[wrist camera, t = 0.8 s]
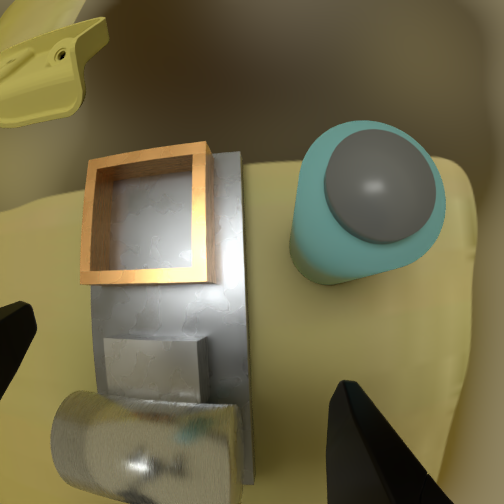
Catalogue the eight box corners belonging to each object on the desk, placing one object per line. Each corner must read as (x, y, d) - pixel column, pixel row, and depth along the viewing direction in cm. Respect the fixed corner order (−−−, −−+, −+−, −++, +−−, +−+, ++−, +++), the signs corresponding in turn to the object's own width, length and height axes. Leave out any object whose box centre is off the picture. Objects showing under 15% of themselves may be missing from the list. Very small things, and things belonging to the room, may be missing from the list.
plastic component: (112, 13, 24) (66, 45, 19) (123, 69, 30) (87, 114, 25) (-10, 55, 24) (-56, 96, 19) (6, 97, 31) (-34, 142, 25)
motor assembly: (255, 474, 19) (242, 547, 11) (119, 460, 20) (63, 508, 12) (242, 160, 22) (222, 91, 14) (106, 177, 23) (43, 131, 15)
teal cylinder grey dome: (368, 282, 21) (466, 261, 8) (291, 287, 21) (306, 273, 9) (361, 207, 21) (436, 113, 9) (287, 210, 22) (292, 108, 10)
